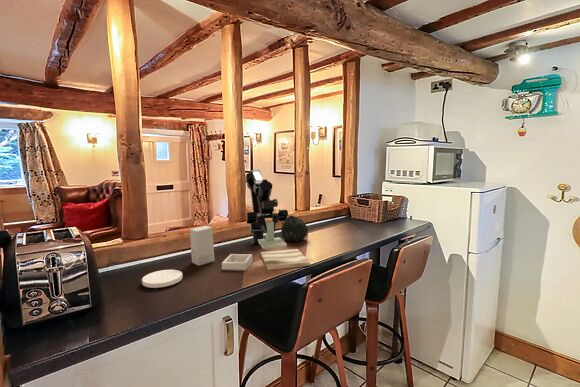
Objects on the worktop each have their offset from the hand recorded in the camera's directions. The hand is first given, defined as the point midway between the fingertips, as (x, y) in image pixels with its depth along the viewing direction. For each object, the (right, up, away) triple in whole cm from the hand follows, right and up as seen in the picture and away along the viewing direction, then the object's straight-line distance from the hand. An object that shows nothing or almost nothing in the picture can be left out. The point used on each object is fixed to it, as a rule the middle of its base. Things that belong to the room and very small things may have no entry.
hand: (270, 232), depth 136 cm
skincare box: (-30, -14, +2) cm, 33 cm away
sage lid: (+1, -5, -2) cm, 5 cm away
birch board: (+6, -13, +2) cm, 14 cm away
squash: (+11, -9, +36) cm, 39 cm away
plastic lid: (-39, -17, -20) cm, 47 cm away
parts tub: (-14, -14, -3) cm, 20 cm away
